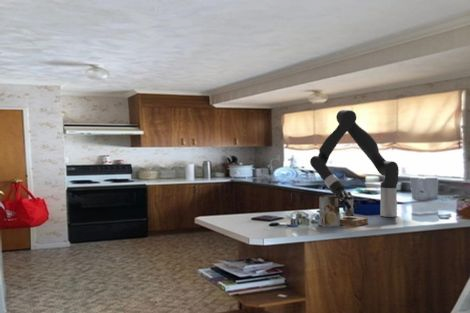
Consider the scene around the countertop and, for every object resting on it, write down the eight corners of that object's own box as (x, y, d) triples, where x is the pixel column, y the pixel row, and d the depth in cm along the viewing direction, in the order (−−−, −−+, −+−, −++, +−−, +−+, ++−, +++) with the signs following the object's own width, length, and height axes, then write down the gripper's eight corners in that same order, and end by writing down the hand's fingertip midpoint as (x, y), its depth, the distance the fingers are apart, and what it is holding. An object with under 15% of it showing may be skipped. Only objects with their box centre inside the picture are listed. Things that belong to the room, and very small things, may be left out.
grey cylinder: (348, 214, 255) (348, 195, 254) (355, 215, 251) (356, 196, 251) (342, 215, 251) (343, 196, 251) (350, 216, 248) (350, 196, 247)
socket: (346, 220, 261) (346, 215, 261) (367, 223, 251) (367, 218, 251) (331, 223, 252) (331, 218, 252) (353, 226, 241) (353, 221, 241)
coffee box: (334, 224, 250) (334, 194, 249) (340, 226, 244) (340, 196, 243) (318, 225, 247) (318, 195, 247) (324, 227, 241) (324, 196, 241)
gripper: (330, 180, 251) (349, 204, 243) (345, 179, 261) (364, 202, 252) (322, 189, 255) (340, 213, 247) (337, 187, 265) (355, 210, 256)
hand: (352, 207), depth 250 cm, fingers closed on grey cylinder, 4 cm apart
